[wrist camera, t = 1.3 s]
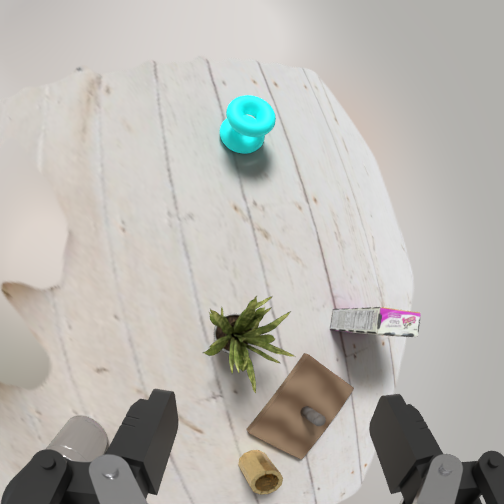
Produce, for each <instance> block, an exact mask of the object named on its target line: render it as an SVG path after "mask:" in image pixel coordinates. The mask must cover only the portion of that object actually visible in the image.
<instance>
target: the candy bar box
mask: <svg viewBox="0 0 504 504" xmlns="http://www.w3.org/2000/svg"><path fill="white" fill-rule="evenodd" d="M419 321H420V313H419V312H411V311H403V310H397V309H390V308H384V307H375V308H351V309H333V313H332V321H331V327H330V330H334V331H342V332H350V333H361V334H372V335H386V336H403V337H418V332H419V323H420V322H419Z"/></svg>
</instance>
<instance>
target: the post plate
mask: <svg viewBox="0 0 504 504" xmlns="http://www.w3.org/2000/svg"><path fill="white" fill-rule="evenodd" d="M353 389H354V388H353V387H352V386H350V385H349V384H348V383H346V382H345V381H344V380H342V379H341V378H339V377H338V376H337V375H335V374H334V373H333V372H331V371H330V370H329V369H327V368H326V367H325V366H323V365H322V364H321V363H319V362H318V361H317V360H315V359H314V358H313V357H311V356H310V355H308V354H305V353H304V354H303V356H302V357H301V359H300V360H299V361H298V363H297V364H296V366H295V367H294V368H293V370H292V371H291V373H290V374H289V375H288V377H287V378H286V379H285V381H284V382H283V383H282V385H281V386H280V387H279V389H278V390H277V391H276V393H275V394H274V395H273V397H272V398H271V399H270V401H269V402H268V403H267V404H266V406H265V407H264V408H263V409H262V411H261V412H260V413H259V414H258V416H257V417H256V418H255V419H254V421H253V422H252V423H251V424H250V425H249V427H248V428H247V431H248V432H249V433H250V434H252V435H254V436H256V437H257V438H259V439H261V440H263V441H265V442H267V443H269V444H271V445H273V446H275V447H277V448H279V449H281V450H283V451H285V452H287V453H289V454H291V455H293V456H295V457H297V458H299V459H302V458H303V457H304V456H305V455H306V454H307V452H308V451H309V450H310V449H311V447H312V446H313V445H314V444H315V442H316V441H317V440H318V439H319V437H320V436H321V435H322V433H323V432H324V431H325V429H326V428H327V427H328V425H329V424H330V423H331V421H332V420H333V419H334V417H335V416H336V414H337V413H338V411H339V410H340V409H341V407H342V406H343V404H344V403H345V401H346V400H347V398H348V397H349V395H350V394H351V392H352V391H353Z"/></svg>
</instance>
